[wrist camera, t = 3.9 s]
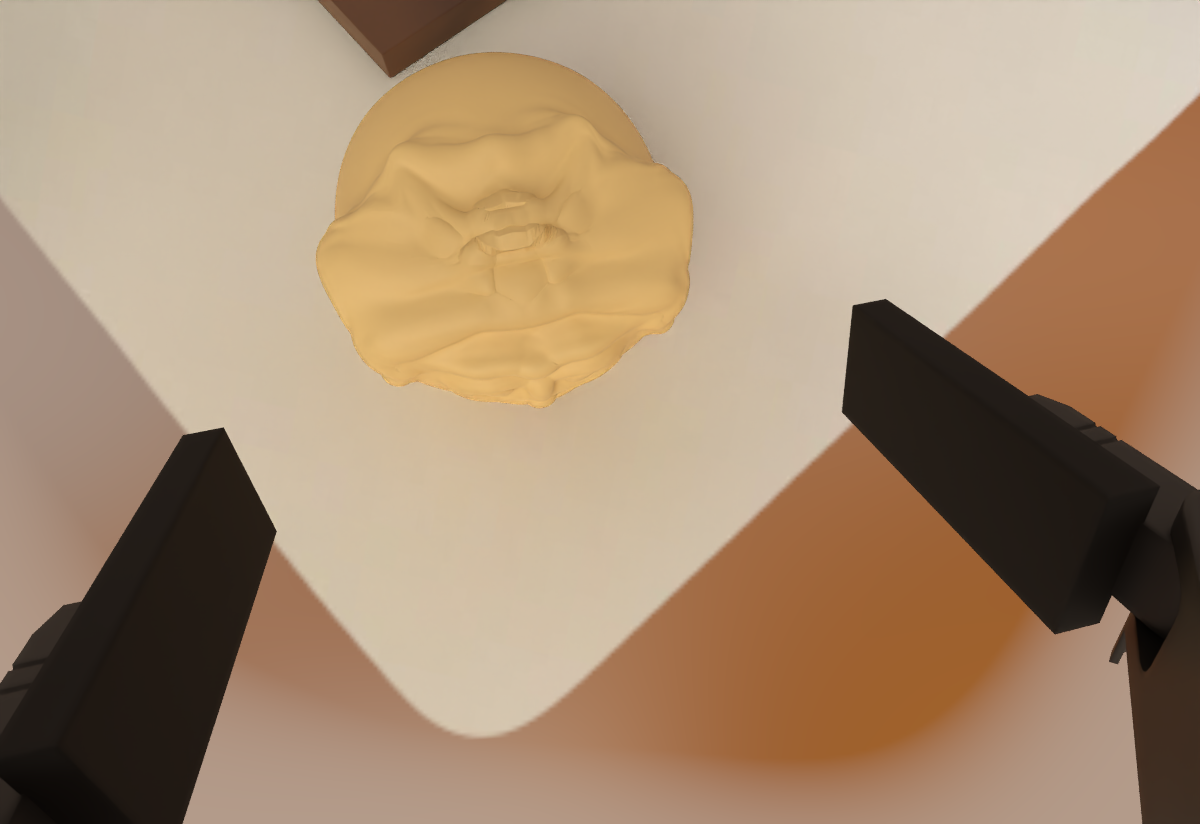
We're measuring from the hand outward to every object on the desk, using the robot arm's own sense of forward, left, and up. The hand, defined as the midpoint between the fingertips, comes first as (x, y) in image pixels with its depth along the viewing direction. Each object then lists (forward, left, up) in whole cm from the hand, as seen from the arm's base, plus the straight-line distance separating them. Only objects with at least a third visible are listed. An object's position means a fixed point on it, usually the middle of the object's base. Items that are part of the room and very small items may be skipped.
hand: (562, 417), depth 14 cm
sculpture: (-2, +8, -13) cm, 15 cm away
